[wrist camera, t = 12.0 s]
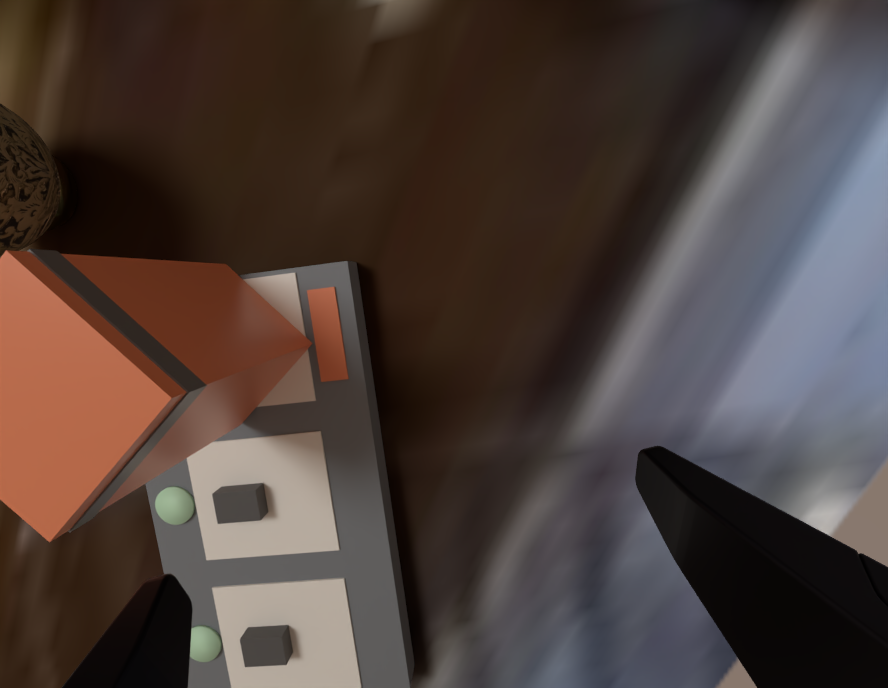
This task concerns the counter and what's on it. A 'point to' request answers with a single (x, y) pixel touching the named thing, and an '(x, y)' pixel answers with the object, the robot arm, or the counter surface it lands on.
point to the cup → (30, 185)
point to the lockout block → (122, 374)
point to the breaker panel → (294, 516)
